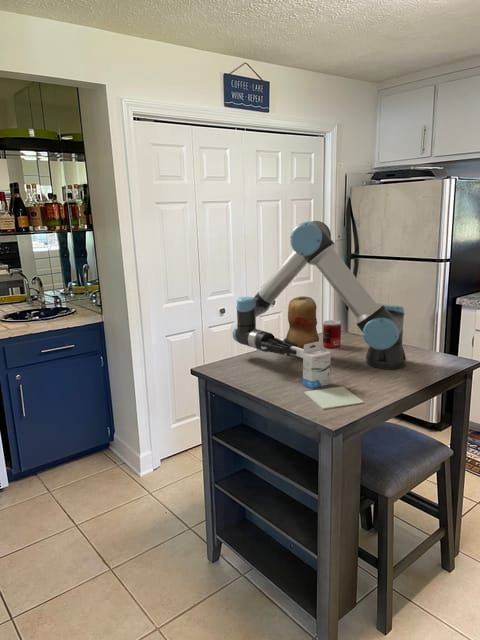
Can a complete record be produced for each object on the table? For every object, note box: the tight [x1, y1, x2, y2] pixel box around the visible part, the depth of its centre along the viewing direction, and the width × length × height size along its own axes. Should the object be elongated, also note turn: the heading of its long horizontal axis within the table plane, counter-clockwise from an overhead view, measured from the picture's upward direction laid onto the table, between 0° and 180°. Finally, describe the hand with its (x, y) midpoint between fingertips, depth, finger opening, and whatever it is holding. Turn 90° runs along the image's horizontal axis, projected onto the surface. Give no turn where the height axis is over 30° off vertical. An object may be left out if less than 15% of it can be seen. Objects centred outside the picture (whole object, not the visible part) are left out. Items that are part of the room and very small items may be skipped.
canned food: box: [322, 319, 342, 350], centre depth 204 cm, size 8×8×11 cm
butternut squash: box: [285, 296, 320, 358], centre depth 190 cm, size 14×13×25 cm
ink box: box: [302, 340, 332, 390], centre depth 160 cm, size 8×5×15 cm, turn 123°
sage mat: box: [303, 386, 365, 410], centre depth 150 cm, size 14×14×1 cm
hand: (304, 354), depth 163 cm, fingers closed
